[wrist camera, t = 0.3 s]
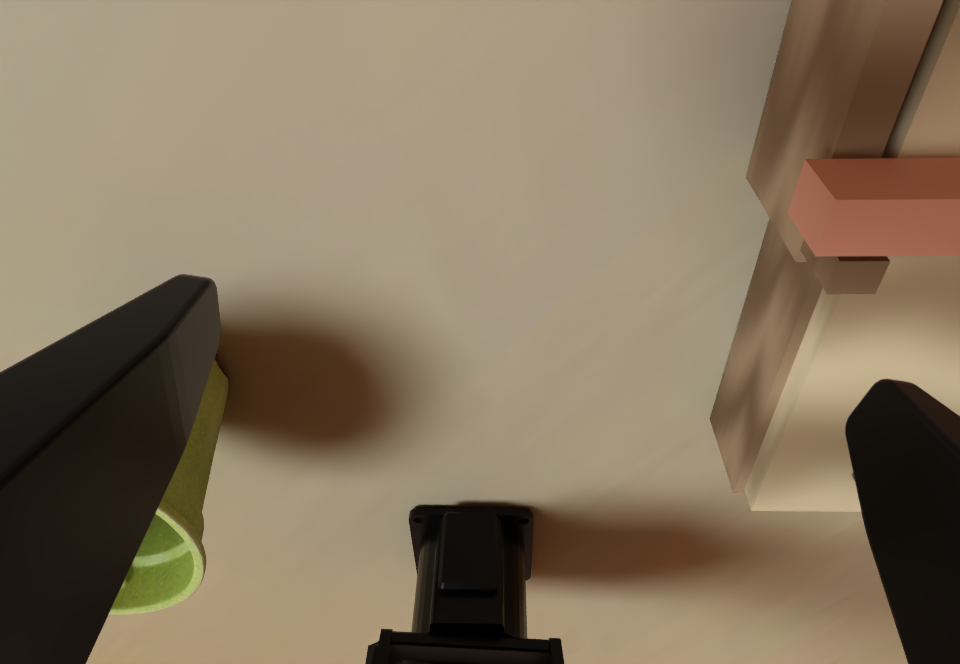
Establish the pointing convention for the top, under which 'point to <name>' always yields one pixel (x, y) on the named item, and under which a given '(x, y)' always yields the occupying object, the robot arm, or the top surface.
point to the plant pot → (178, 519)
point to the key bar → (879, 206)
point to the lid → (872, 321)
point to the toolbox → (774, 175)
